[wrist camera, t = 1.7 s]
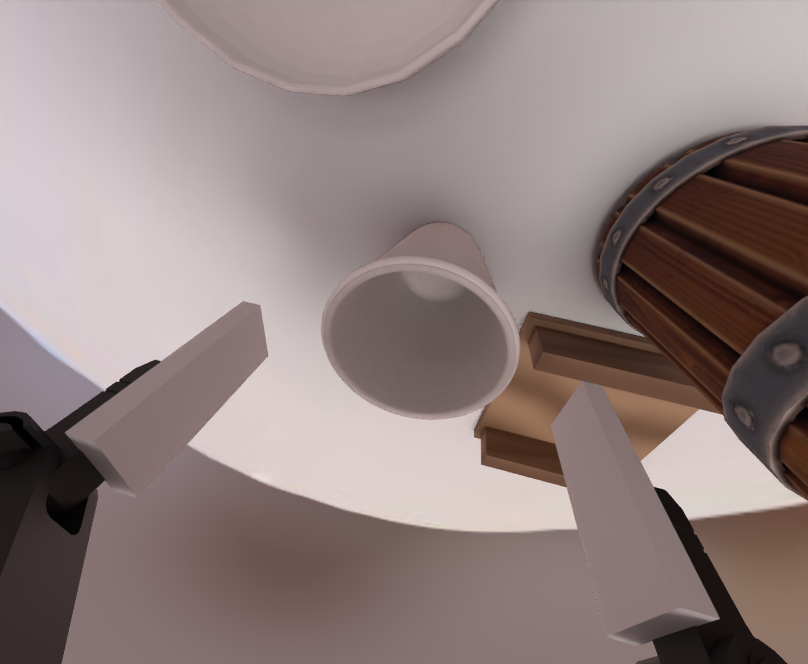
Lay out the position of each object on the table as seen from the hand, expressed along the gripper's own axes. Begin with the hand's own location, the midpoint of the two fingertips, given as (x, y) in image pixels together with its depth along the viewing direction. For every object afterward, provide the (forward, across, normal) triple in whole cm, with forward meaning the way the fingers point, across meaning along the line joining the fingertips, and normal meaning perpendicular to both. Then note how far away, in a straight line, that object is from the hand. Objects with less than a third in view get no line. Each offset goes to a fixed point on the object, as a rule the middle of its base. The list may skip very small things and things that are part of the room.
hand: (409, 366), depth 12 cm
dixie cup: (+10, 0, +1) cm, 11 cm away
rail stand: (+10, +14, -8) cm, 19 cm away
